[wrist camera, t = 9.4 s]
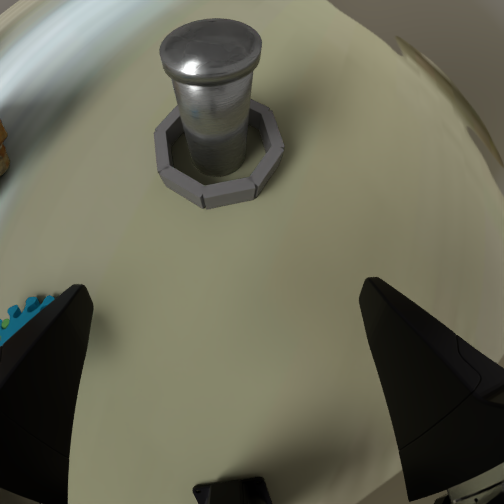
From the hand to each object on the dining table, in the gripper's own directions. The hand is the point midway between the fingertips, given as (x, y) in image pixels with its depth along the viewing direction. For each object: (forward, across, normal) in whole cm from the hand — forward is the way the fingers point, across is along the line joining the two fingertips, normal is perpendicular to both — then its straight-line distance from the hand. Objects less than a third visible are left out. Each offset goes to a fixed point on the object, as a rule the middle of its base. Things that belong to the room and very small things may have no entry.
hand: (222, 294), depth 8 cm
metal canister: (+19, +1, +1) cm, 19 cm away
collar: (+19, +1, +1) cm, 19 cm away
